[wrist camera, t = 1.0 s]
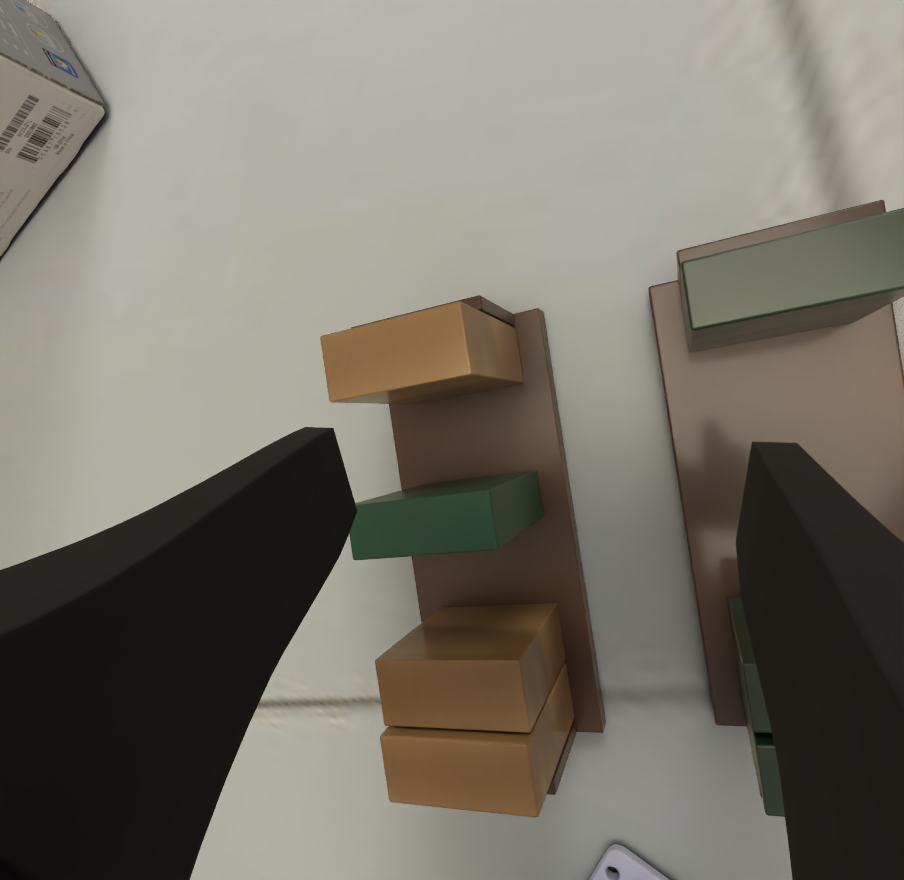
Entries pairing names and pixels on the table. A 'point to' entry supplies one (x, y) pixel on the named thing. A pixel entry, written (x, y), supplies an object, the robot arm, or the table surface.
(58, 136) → the hard drive box
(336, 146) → the table surface
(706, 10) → the table surface
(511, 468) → the tan rack
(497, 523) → the green book
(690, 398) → the green rack
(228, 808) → the table surface
